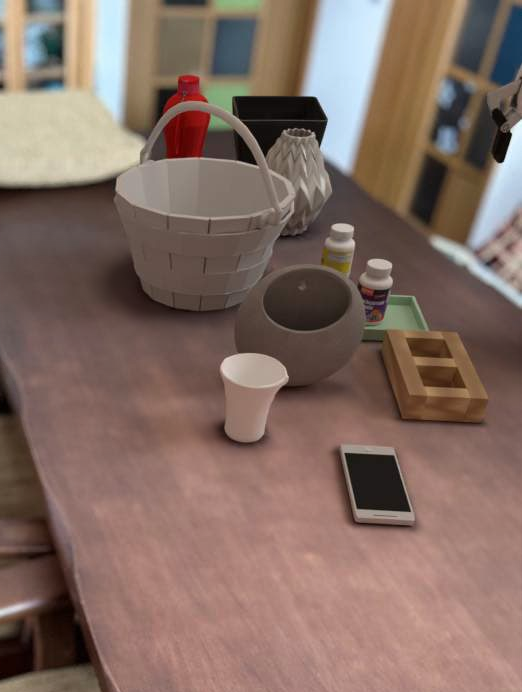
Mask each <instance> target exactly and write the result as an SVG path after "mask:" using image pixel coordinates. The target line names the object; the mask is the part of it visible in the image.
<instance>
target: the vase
mask: <svg viewBox="0 0 522 692" xmlns="http://www.w3.org/2000/svg"><path fill="white" fill-rule="evenodd" d="M265 160H266V163H267V166H268V169H270V170H272V171H274V172H276V173H277V174H279V175H281V176H283V177H284V178H286V179H288V180H290V181H291V183H292V186H293V188H294V191H295V193H296V196H295V198H294V213H293V214H292V216H291V217H290V219H289V220H288V222H287V223H286V225H285V226H284V228H283V229H282V231H281V233H280V236H281V235H282V236H283V237H285V236H293V237H294V236H296V235H302V234H303V233H304V232H306V231H307V229H308V226H309V225H311V224H313V222H314V221H315V219H316V218H317V217H318V215H320V213H321V211H322V209H323V207H324V205H325V204H326V202H327V201H328V199H329V198H330V197H331V195H332V194H333V188H332V183H331V180H330V176H329V173H328V171H327V170H326V168H325V161H324V155H323V152H322V150H321V148H320V149H319V147H318V141H317V140H316V139H315V133H314V132H310V130H304V129H297V128H294V129H288V130H283V132H282V134H281V137H280V138H278V139H277V141H276V143H275V145H274V146H273V147H272V148H271V149H270V150H269V151H268V154H267V156H266V158H265Z"/></svg>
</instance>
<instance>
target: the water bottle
mask: <svg viewBox="0 0 522 692" xmlns="http://www.w3.org/2000/svg"><path fill="white" fill-rule="evenodd" d="M200 78H201V77H200V76H197V75H193V74H183V75H180V76H179V75H178V77H177V90H176V93H174V94H173V95H171V96H170V97H169V99H167V101H166V103H165V105H164V108H163V111H162V116H163V115H164V114H165V113H166V112H167V111H168V110H169V109H170V108H172V107H174V106H175V105H177V104H179V103H182V102H187V101H201V102H205V103H209V104H210V102H209V100H208V99H207V98H206V97H205V95H203V94H202V93H200V81H201V80H200ZM211 116H212V114H209V113H206V112H202V111H194V110H188V111H185V112H182V113H179V114H178V115H176V116H175V117H173V118H172V119H171V120H170V121H169V122H168V123H167V124H166V125H165V126H164V128H163V129H162V131H163V136H164V141H165V159H177V158H195V157H198V158H199V159H200V157H202V158H203V152H204V145H205V142H206V138H207V133H208V129H209V126H210V122H211V119H212V117H211Z"/></svg>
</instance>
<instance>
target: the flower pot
mask: <svg viewBox="0 0 522 692" xmlns="http://www.w3.org/2000/svg"><path fill="white" fill-rule="evenodd" d="M231 111H232V113H231V114H232V115H234V116H236V117H237V118H238V119H239V120H240V121H241V122H242V123H243V124H244V125H245V126H246V127H247V128H248V129H249V131H250V132H251V134H252V135H253V136H254V138H255V139H256V141H257V143H258V145H259V147H260V149H261V151H262V153H263V155H264V157H265V158H266V156H267V154H268V151H269V150H270V149H271V148H272V147H273V146H274V145H275V143H276V141H277V139H278V138H280V137H281V134H282V132H283V130H288V129H294V128H297V129H304V130H310V132H314V133H315V139H316V140H317V141H318V147H319V149H320V150H321V146H322V143H323V139H324V136H325V133H326V130H327V126H328V122H329V118H328V115H327V114H326V113H325V111H324V109H323V107H322V104H321V103H320V101H319V99H318V97H317V96H313V95H312V96H311V95H233V96H232V97H231ZM232 129H233V139H234V140H233V141H234V148H235V149H234V150H235V156H236V161H240V162H244V163H248V164H252V165H256V166H258V164H257V162H256V160H255V158H254V156H253V153H252V151H251V150H250V148H249V147H248V145H247V144H246V142H245V141H244V139H243V138H242V137H241V136H240V135H239V133H238V132H237V131H236V130H235V129H234V128H233V127H232Z"/></svg>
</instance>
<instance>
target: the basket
mask: <svg viewBox="0 0 522 692" xmlns="http://www.w3.org/2000/svg"><path fill="white" fill-rule="evenodd" d="M188 110H194V111H202V112H206V113H209V114H211V116H213V117H216V118H218V119H220V120H222V121H223V122H225V123H226V124H227V125H229V126H230V127H231V128H232V129H233V128H234V129H235V130H236V131H237V132H238V133H239V135H240V136H241V137H242V138H243V139H244V141H245V142H246V144H247V145H248V147H249V148H250V150H251V151H252V153H253V156H254V158H255V160H256V162H257V164H258V166H256V165H252V164H248V163H244V162H240V161H237V160H235V159H225V158H214V157H213V158H212V157H203V156H202V157H200V159H199V158H198V157H195V158H177V159H166V158H163V159H159V160H154V159H147V154H148V153H150V152H151V150H152V148H153V146H154V145H155V143H156V141H157V139H158V137H159V135H160V134H161V132H162V131H163V128H164V126H165V125H166V124H167V123H168V122H169V121H170V120H171V119H172V118H173V117H175V116H176V115H178V114H179V113H182V112H185V111H188ZM295 196H296V193H295V191H294V188H293V186H292V183H291V181H290V180H288V179H286V178H284V177H283V176H281V175H279V174H277V173H276V172H274V171H272V170H270V169H268V166H267V163H266V160H265V157H264V155H263V153H262V151H261V149H260V147H259V145H258V143H257V141H256V139H255V138H254V136H253V135H252V134H251V132H250V131H249V129H248V128H247V127H246V126H245V125H244V124H243V123H242V122H241V121H240V120H239V119H238V118H237V117H236V116H234V115H233V114H232V113H231V112H229V111H228V110H226V109H224V108H222V107H220V106H217V105H215V104H214V103H213V104H212V103H210V102H209V103H205V102H201V101H187V102H182V103H179V104H177V105H175V106H174V107H172V108H170V109H169V110H168V111H167V112H166V113H165V114H164V115H163V114H162V116H161V117H160V118H159V120H158V121H157V123H156V125H155V126H154V128H153V129H152V131H151V134H150V135H149V137H148V139H147V141H146V142H145V144H144V147H142V148H141V149H140V152H139V164H137V165H134V166H133V167H131V168H129V169H127V170H126V171H125V172H123V173H121V174H120V175H118V176H117V177H116V183H115V196H114V198H113V202H114V204H115V207H116V210H117V212H118V215H119V217H120V219H121V223H122V224H121V225H122V227H123V230H124V232H125V234H126V235H127V237H128V241H129V248H130V252H131V257H132V261H133V268H134V271H135V273H136V275H137V276H138V277H139V281H140V283H141V287H142V288H141V289H142V290H143V292H144V293H146V294H147V295H148V297H150V298H151V299H152V300H153V301H155V302H158V303H159V304H163V305H164V306H168V307H171V308H173V309H174V308H175V309H180V310H188V311H195V312H205V311H217V310H224V309H225V310H226V309H229V308H231V307H233V306H236V305H240V304H241V303H242V302H243V300H244V298H245V297H246V295H247V294H248V293H249V291H250V290H251V289H252V288H253V287H254V286H255V285H256V284H257V283H258V282H259V281H260V280H261V279H262V278H263V276H264V272H265V271H266V268H267V266H268V264H269V262H270V260H271V257H272V256H273V247H274V244H275V242H276V240H277V239H278V238H279V237H280V236H281V234H280V233H281V231H282V229H283V228H284V226H285V225H286V223H287V222H288V220H289V219H290V217H291V216H292V214H293V213H294V198H295Z"/></svg>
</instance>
